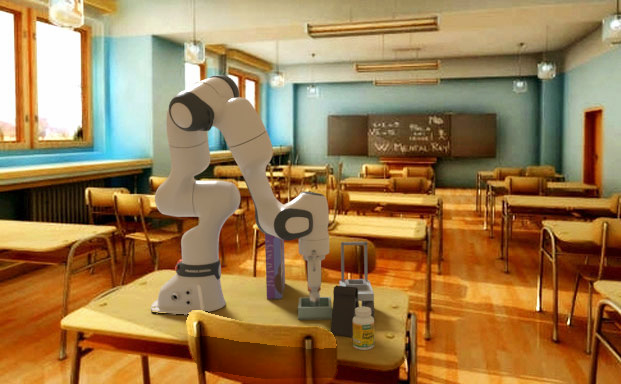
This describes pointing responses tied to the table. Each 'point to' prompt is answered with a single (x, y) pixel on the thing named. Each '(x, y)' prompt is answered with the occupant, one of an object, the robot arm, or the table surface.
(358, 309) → the supplement bottle
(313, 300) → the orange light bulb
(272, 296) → the cereal box
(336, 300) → the phone stand
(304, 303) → the bin
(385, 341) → the table surface
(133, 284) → the table surface
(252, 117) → the robot arm
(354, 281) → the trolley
